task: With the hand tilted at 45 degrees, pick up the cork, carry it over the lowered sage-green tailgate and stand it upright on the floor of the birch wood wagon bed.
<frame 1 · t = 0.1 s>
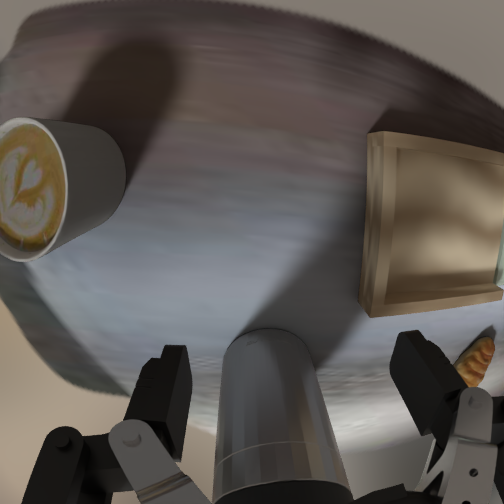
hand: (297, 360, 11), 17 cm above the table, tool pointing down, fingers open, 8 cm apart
wagon bed: (441, 222, 27), on the table
pastry: (462, 364, 34), on the table
coffee mug: (66, 178, 25), on the table
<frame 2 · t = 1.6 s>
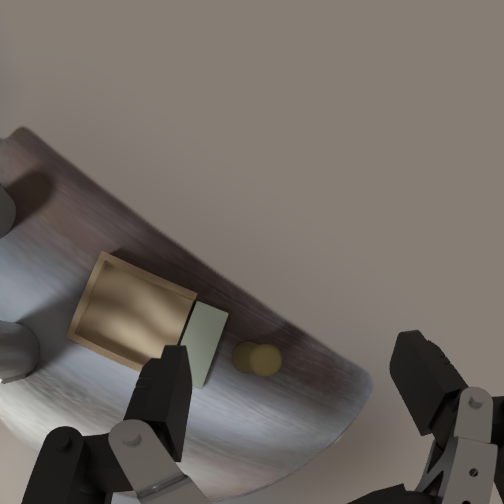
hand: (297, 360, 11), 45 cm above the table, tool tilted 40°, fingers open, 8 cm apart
wagon bed: (131, 317, 50), on the table
cork: (247, 357, 55), on the table
tailgate: (198, 345, 52), point 1 cm above the table, hinge at 90.0°
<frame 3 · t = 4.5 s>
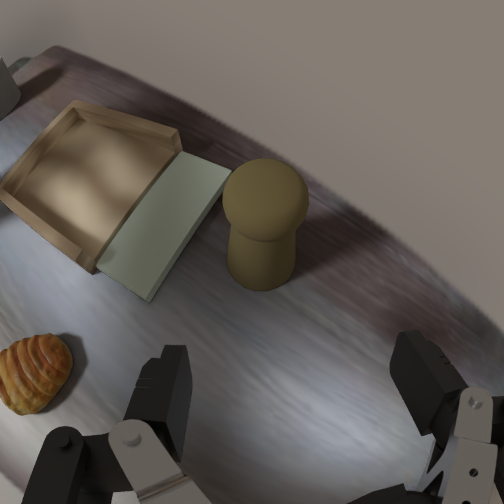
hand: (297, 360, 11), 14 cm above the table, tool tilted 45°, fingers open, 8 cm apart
wagon bed: (83, 179, 31), on the table
cork: (261, 258, 27), on the table
pastry: (37, 373, 23), on the table
tailgate: (165, 218, 28), point 1 cm above the table, hinge at 90.0°
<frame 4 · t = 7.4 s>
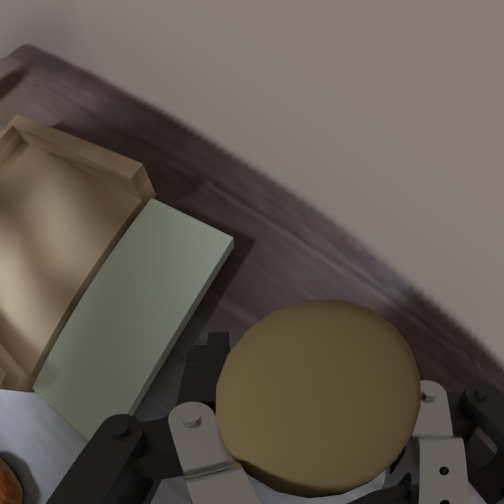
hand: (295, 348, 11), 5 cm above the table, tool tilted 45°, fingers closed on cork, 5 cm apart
wagon bed: (19, 235, 19), on the table
cork: (282, 391, 16), on the table, touching gripper
tailgate: (125, 321, 16), point 1 cm above the table, hinge at 90.0°
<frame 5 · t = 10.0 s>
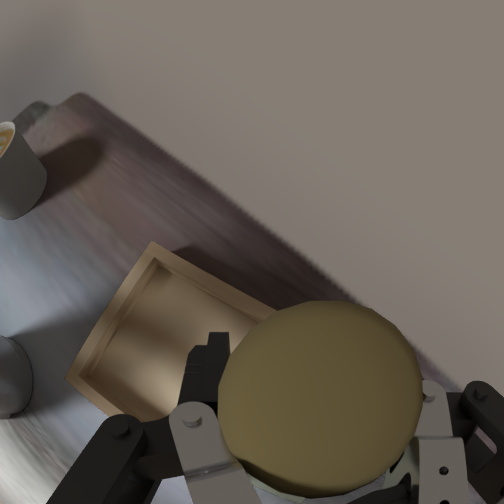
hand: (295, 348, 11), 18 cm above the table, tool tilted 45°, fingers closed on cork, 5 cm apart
wagon bed: (191, 367, 27), on the table
cork: (284, 392, 16), point 12 cm above the table, touching gripper
tailgate: (310, 430, 25), point 1 cm above the table, hinge at 90.0°
coffee mug: (18, 187, 36), on the table
when the fingers open (8 cm above the table, at t = 12.7 s): cork drops 1 cm, resting on wagon bed.
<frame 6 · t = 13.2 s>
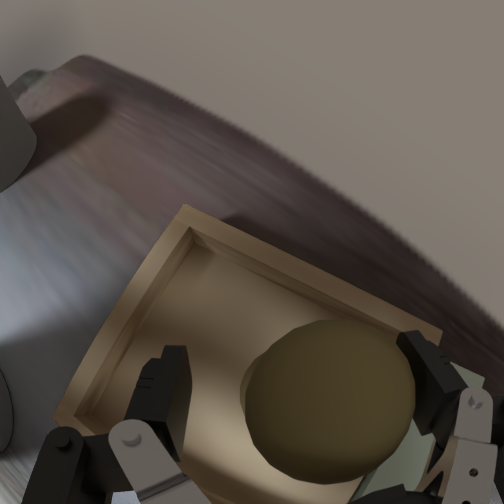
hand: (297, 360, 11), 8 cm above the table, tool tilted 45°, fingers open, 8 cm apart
wagon bed: (249, 393, 18), on the table
cork: (290, 393, 17), point 1 cm above the table, touching wagon bed
tailgate: (416, 460, 15), point 1 cm above the table, hinge at 90.0°
coffee mug: (1, 158, 27), on the table
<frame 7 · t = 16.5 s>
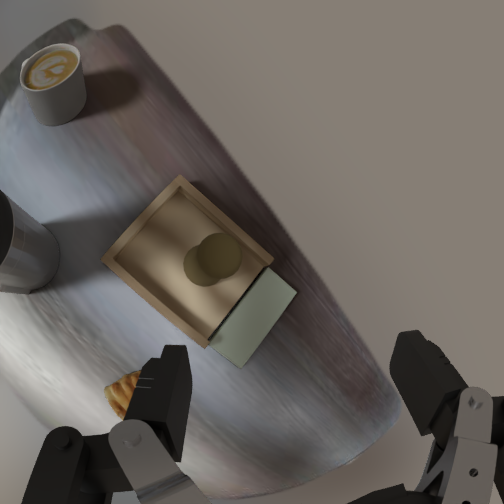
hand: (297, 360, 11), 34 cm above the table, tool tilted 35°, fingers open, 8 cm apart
wagon bed: (186, 262, 44), on the table
cork: (204, 265, 44), point 1 cm above the table, touching wagon bed
pastry: (135, 391, 39), on the table
tailgate: (253, 317, 45), point 1 cm above the table, hinge at 90.0°
coffee mug: (55, 98, 40), on the table
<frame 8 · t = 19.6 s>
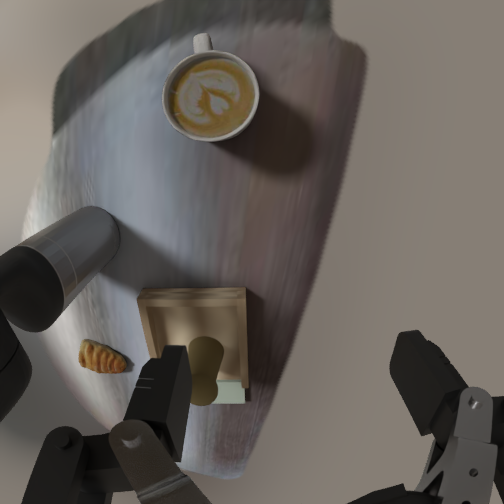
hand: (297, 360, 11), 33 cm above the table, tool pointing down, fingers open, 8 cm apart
wagon bed: (198, 336, 50), on the table
cork: (206, 349, 50), point 1 cm above the table, touching wagon bed
pastry: (102, 352, 52), on the table
tailgate: (205, 390, 54), point 1 cm above the table, hinge at 90.0°
coffee mug: (218, 92, 37), on the table
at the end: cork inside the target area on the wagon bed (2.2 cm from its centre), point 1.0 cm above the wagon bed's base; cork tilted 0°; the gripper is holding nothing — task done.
